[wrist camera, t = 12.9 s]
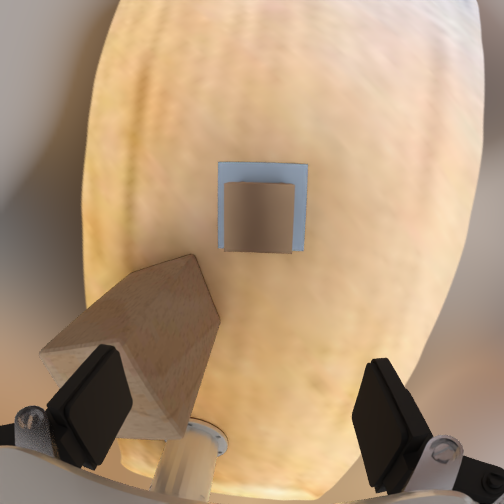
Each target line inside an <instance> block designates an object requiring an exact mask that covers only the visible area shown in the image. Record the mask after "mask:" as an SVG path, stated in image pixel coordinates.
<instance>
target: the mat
mask: <svg viewBox="0 0 504 504" xmlns="http://www.w3.org/2000/svg"><path fill="white" fill-rule="evenodd" d="M307 175H308V164H290V163H263V162H218V248H224V183H227V182H241V181H244V182H260V183H280V182H283V183H289V184H294V185H295V200H294V223H293V243H292V251H304V236H305V219H306V200H307Z"/></svg>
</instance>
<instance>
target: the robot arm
mask: <svg viewBox="0 0 504 504" xmlns="http://www.w3.org/2000/svg"><path fill="white" fill-rule="evenodd" d="M132 405H133V399H132V396H131V393H130V389H129V386H128V382H127V379H126V375H125V372H124V368H123V364H122V360H121V356H120V353H119V351H118V350H116V348H115V347H114V346H112V345H106V344H100V345H99V346H98V347H97V348H96V349H95V350H94V351H93V352H92V353H91V354H90V355H89V357H88V358H87V359H86V360H85V361H84V362H83V363H82V364H81V365H80V367H79V368H78V369H77V370H76V371H75V372H74V373H73V375H72V376H71V377H70V378H69V379H68V380H67V381H66V383H65V384H64V385H63V386H62V387H61V388H60V389H59V391H58V392H57V393H56V394H55V395H54V396H53V398H52V399H51V400H50V401H49V402H48V404H47V407H48V408H47V409H46V411H45V410H44V409H43V408H41V407H39V406H28V407H25V408H23V409H21V410H20V411H19V412H18V413H17V415H16V416H15V423H12V424H7V425H2V426H0V504H219V503H211V502H208V501H209V495H210V491H211V486H212V481H213V475H214V470H215V465H216V460H217V457H218V456H220V455H222V454H224V453H225V452H226V450H227V447H228V440H227V437H226V436H225V435H224V433H223V432H222V431H220V430H219V429H218V428H216V427H215V426H213V425H211V424H209V423H207V422H204V421H201V420H197V419H192V418H190V419H189V422H188V425H187V429H186V432H185V435H184V437H183V438H182V439H179V440H165V442H166V445H165V447H164V450H163V453H162V456H161V458H160V461H159V464H158V467H157V470H156V472H155V475H154V478H153V481H152V484H151V487H150V490H149V491H147V490H144V489H140V488H136V487H133V486H129V485H126V484H123V483H119V482H116V481H113V480H110V479H107V478H104V477H102V476H99V475H96V474H93V473H91V472H88V471H85V470H83V469H81V467H82V465H83V466H84V467H86V468H89V469H91V470H95V469H96V467H97V465H101V464H102V462H103V460H104V458H105V457H106V455H107V453H108V451H109V449H110V447H111V445H112V443H113V441H114V440H115V438H116V436H117V434H118V432H119V430H120V428H121V427H122V425H123V423H124V421H125V419H126V417H127V416H128V414H129V412H130V410H131V408H132ZM352 422H353V425H354V429H355V432H356V436H357V439H358V443H359V447H360V450H361V454H362V457H363V461H364V465H365V469H366V473H367V476H368V480H369V484H370V486H371V487H375V491H376V493H380V492H385V491H387V494H388V495H387V496H380V497H375V498H369V499H364V500H357V501H350V502H342V503H333V504H504V469H502V468H500V467H498V466H495V465H491V464H488V463H485V462H481V461H478V460H475V459H472V458H469V457H466V456H463V452H464V450H463V446H462V445H461V443H460V442H459V441H458V440H457V439H456V438H454V437H452V436H448V435H438V436H436V437H433V435H432V433H431V431H430V429H429V427H428V425H427V423H426V421H425V419H424V418H423V416H422V414H421V412H420V410H419V408H418V407H417V405H416V403H415V401H414V399H413V397H412V396H411V394H410V392H409V391H408V390H407V389H405V387H404V385H403V384H402V382H401V380H400V378H399V376H398V375H397V373H396V371H395V369H394V368H393V366H392V364H391V363H390V361H389V359H388V358H378V359H372V361H371V363H367V365H366V368H365V372H364V376H363V379H362V383H361V386H360V390H359V393H358V396H357V400H356V403H355V406H354V409H353V412H352Z"/></svg>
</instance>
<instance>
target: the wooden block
mask: <svg viewBox="0 0 504 504" xmlns="http://www.w3.org/2000/svg"><path fill="white" fill-rule="evenodd" d="M219 325H220V319H219V316H218V314H217V311H216V309H215V307H214V304H213V302H212V299H211V297H210V294H209V292H208V289H207V287H206V284H205V281H204V279H203V276H202V274H201V271H200V268H199V266H198V263H197V261H196V258H195V256H194V255H191V254H190V255H187V256H183V257H180V258H177V259H174V260H171V261H167V262H164V263H161V264H158V265H155V266H152V267H148V268H145V269H142V270H139V271H136V272H133V273H130V274H129V275H128V276H126V277H125V278H124V279H123V280H121V281H120V282H119V283H118V284H117V285H115V286H114V287H113V288H112V289H110V290H109V291H108V292H107V293H106V294H104V295H103V296H102V297H101V298H100V299H98V300H97V301H96V302H95V303H94V304H92V305H91V306H90V307H89V308H88V309H87V310H85V311H84V312H83V313H82V314H81V315H80V316H78V317H77V318H76V319H75V320H74V321H73V322H72V323H71V324H69V325H68V326H67V327H66V328H65V329H64V330H62V331H61V332H60V333H59V334H58V335H57V336H56V337H55V338H54V339H52V340H51V341H50V342H49V343H48V344H47V345H46V346H45V347H44V348H43V349H42V350H41V351H40V352H39V357H40V359H41V360H42V362H43V364H44V365H45V367H46V368H47V370H48V371H49V373H50V374H51V376H52V378H53V379H54V381H55V382H56V384H57V385H58V387H59V388H61V387H62V386H63V385H64V384H65V383H66V381H67V380H68V379H69V378H70V377H71V376H72V375H73V373H74V372H75V371H76V370H77V369H78V368H79V367H80V365H81V364H82V363H83V362H84V361H85V360H86V359H87V358H88V357H89V355H90V354H91V353H92V352H93V351H94V350H95V349H96V348H97V347H98V346H99V345H100V344H106V345H112V346H114V347H115V348H116V350H118V351H119V353H120V356H121V360H122V364H123V368H124V372H125V375H126V379H127V382H128V386H129V389H130V393H131V396H132V399H133V405H132V408H131V410H130V412H129V414H128V416H127V417H126V419H125V421H124V423H123V425H122V427H121V428H120V430H119V432H118V434H117V436H116V438H126V439H148V440H179V439H182V438H183V437H184V435H185V432H186V429H187V425H188V422H189V419H190V416H191V413H192V410H193V406H194V403H195V400H196V397H197V394H198V391H199V387H200V384H201V381H202V378H203V375H204V372H205V369H206V366H207V362H208V359H209V356H210V353H211V350H212V347H213V344H214V341H215V337H216V334H217V331H218V328H219Z"/></svg>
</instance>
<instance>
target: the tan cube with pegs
mask: <svg viewBox="0 0 504 504" xmlns="http://www.w3.org/2000/svg"><path fill="white" fill-rule="evenodd" d="M294 200H295V185H294V184H289V183H283V182H280V183H260V182H244V181H241V182H227V183H224V251H227V252H256V253H286V254H292V243H293V223H294Z"/></svg>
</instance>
